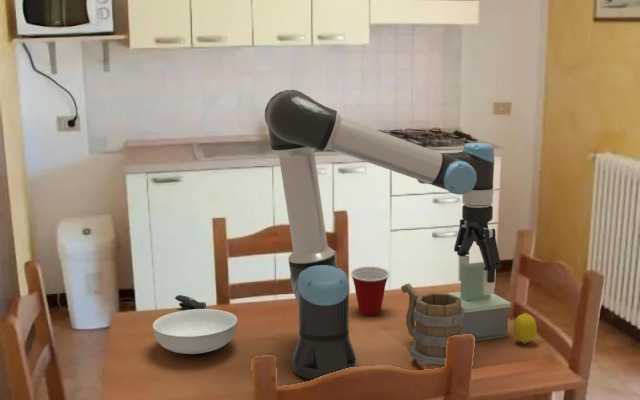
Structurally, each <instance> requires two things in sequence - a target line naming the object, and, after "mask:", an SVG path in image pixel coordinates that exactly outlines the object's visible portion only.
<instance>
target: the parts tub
mask: <svg viewBox="0 0 640 400" xmlns="http://www.w3.org/2000/svg"><path fill="white" fill-rule="evenodd" d="M463 315H464V317H463V320H462V323H461V327H462V328H463V334H472V335H473V336H474V337H475V341H474V342H477V341H478V342H479V341H487V340H492V339H499V338H500V339H501V338H508V329H509V328H508V327H509V326H508V325H509V324H508V323H509V321H508V320H509V318H508V317H509V307H507V308H499V309H491V310H483V311H475V312H467V313H464V312H463Z"/></svg>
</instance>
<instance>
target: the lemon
mask: <svg viewBox="0 0 640 400" xmlns="http://www.w3.org/2000/svg"><path fill="white" fill-rule="evenodd" d="M537 329H538V328H537V322H536V319H535V318H534V317H533V316H532V315H531V314H529V313H527V312H523V313H521V314H519V315H518V316H517V317H516V318H515V320H514V323H513V333H514V336H515V338H516V339H517V340H518V341H520V342H521V343H522V344H523V345H524V344H525V345H526V344H527V343H528V342H531V341H533V340H534V338H535V337H536V336H537V335H536V334H537V331H538V330H537Z"/></svg>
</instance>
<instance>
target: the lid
mask: <svg viewBox="0 0 640 400" xmlns="http://www.w3.org/2000/svg"><path fill="white" fill-rule="evenodd" d="M484 268H485V264H484V261H483V262H482V261H481V262H471V263H470V262H469V264H461V281H460V291H455V292H447V293H444V294H451V295H454V296H456V297H458V298H460V299H461V307H462V308H463V309H464V310H463V312H464V313H467V312H475V311H483V310H491V309H499V308H507V307H508V308H511V307H512V302H510V301H508V300H506V299H505V298H503V297H501V296H499V295H497V294H496V293H494V294H490V295H483V277H484Z"/></svg>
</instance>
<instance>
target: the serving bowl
mask: <svg viewBox="0 0 640 400" xmlns="http://www.w3.org/2000/svg"><path fill="white" fill-rule="evenodd" d="M238 321H239V320H238V317H237V316H236V315H235V314H234V313H232V312H230V311H225V310H220V309H213V308H205V309H193V310H184V309H183V310H179V311H178V310H177V311H175V312H171V313H167V314H165V315H161V316H160V317H159V318H157V319H155V320H154V321H153V323H152V330H153V334H154V337H155V339H156V341H157V342H158V344H159V345H160V346H161V347H163V348H165V350H168V351H170V352H173V353H178V354H185V355H198V354H203V353H209V352H213V351H215V350H218V349H221V348H223V347H224V346H226V345H227V344H228V343H230V341H232V340H233V337H234V336H235V334H236V332H237V329H238Z"/></svg>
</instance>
